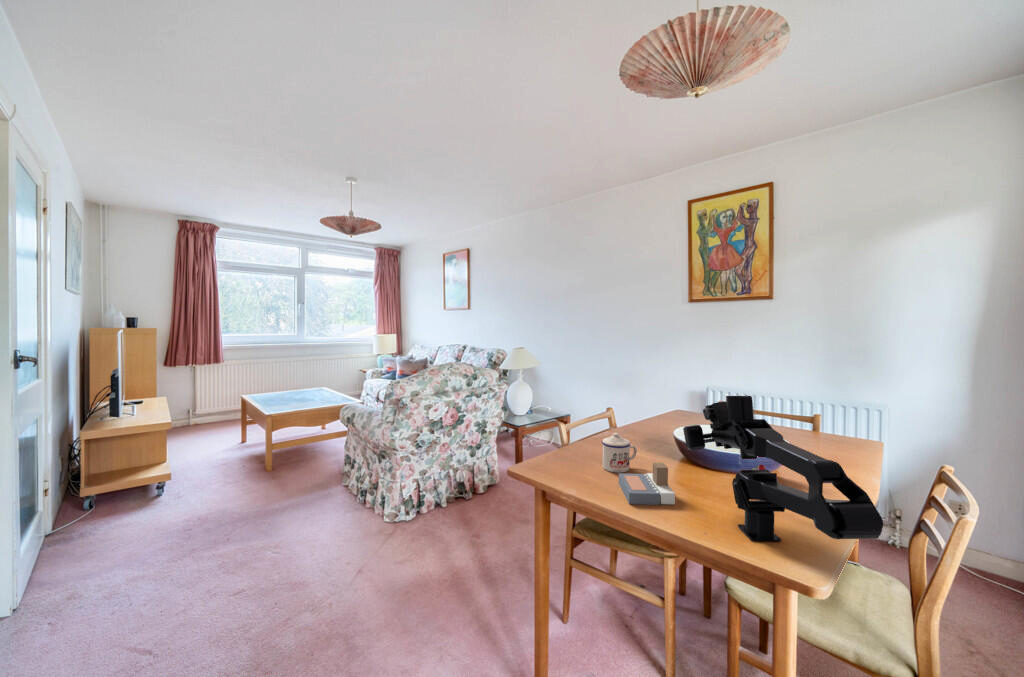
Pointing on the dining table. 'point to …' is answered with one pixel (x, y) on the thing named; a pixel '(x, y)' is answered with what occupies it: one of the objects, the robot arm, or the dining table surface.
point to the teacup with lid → (617, 453)
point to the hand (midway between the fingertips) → (705, 430)
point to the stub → (662, 483)
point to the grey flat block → (639, 489)
